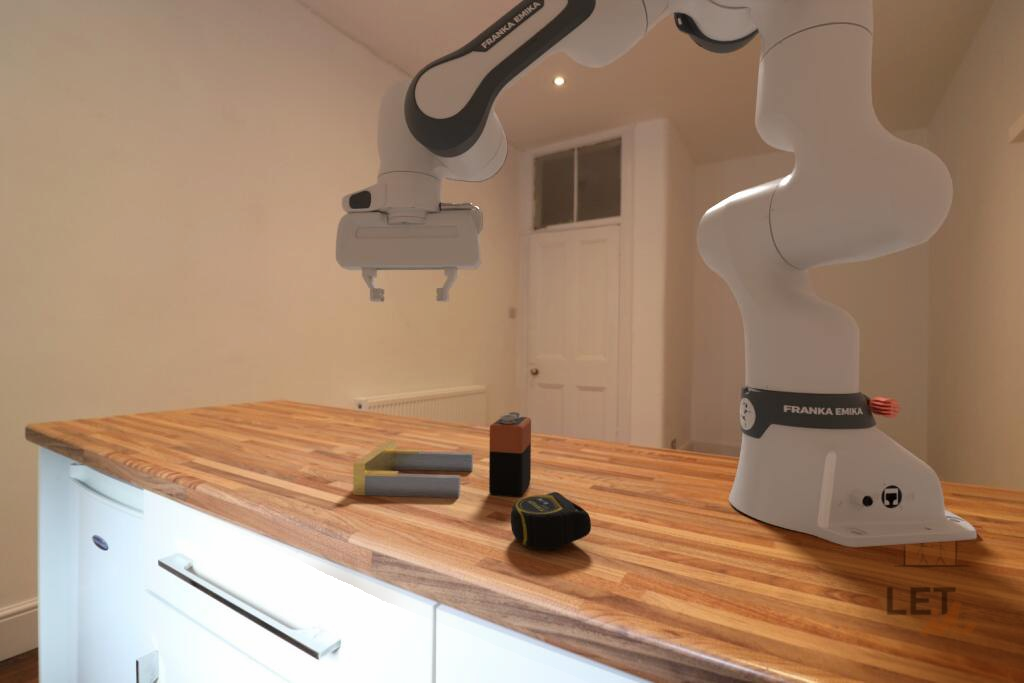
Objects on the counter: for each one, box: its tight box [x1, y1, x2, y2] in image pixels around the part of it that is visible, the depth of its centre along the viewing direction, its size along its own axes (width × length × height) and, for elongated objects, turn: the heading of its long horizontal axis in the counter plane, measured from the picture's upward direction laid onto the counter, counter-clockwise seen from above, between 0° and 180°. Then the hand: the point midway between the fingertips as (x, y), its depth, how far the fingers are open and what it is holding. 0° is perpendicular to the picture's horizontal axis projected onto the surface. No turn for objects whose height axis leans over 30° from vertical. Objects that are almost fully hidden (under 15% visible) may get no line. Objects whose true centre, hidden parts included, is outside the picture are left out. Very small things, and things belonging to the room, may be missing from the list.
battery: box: [488, 411, 532, 498], centre depth 60 cm, size 4×7×10 cm, turn 167°
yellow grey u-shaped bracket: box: [352, 440, 474, 499], centre depth 63 cm, size 14×12×4 cm
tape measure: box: [510, 491, 592, 550], centre depth 44 cm, size 7×7×4 cm
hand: (409, 301), depth 63 cm, fingers open, 8 cm apart
